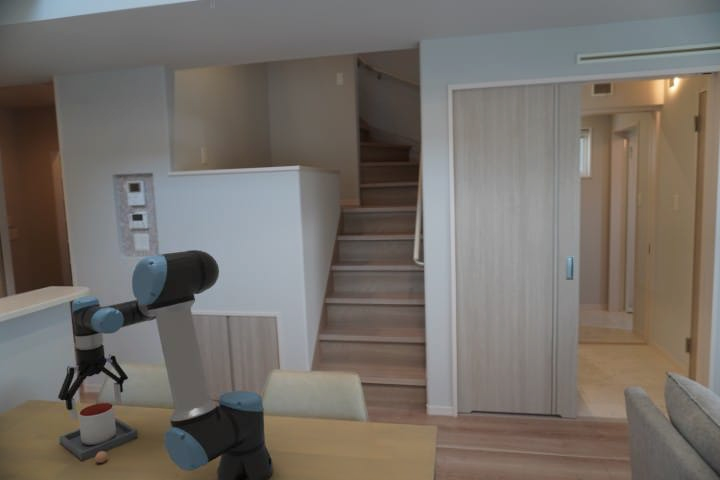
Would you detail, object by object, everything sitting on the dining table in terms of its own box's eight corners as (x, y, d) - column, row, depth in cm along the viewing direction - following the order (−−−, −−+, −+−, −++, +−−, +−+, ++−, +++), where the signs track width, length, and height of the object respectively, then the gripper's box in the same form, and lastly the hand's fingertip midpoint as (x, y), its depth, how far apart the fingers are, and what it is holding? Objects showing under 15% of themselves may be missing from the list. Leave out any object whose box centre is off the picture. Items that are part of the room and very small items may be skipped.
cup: (101, 448, 150) (98, 417, 149) (73, 445, 152) (70, 415, 151) (123, 432, 160) (120, 403, 159) (96, 430, 162) (94, 401, 161)
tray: (137, 437, 157) (136, 430, 157) (81, 461, 144) (80, 453, 144) (114, 422, 168) (113, 416, 168) (60, 443, 155) (59, 436, 155)
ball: (109, 461, 144) (108, 451, 143) (98, 466, 141) (97, 456, 141) (105, 457, 146) (104, 447, 145) (93, 462, 143) (92, 452, 143)
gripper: (124, 334, 165) (130, 394, 167) (41, 355, 146) (49, 422, 148) (134, 337, 160) (140, 399, 162) (50, 359, 141) (58, 429, 143)
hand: (97, 410), depth 155 cm, fingers open, 13 cm apart
